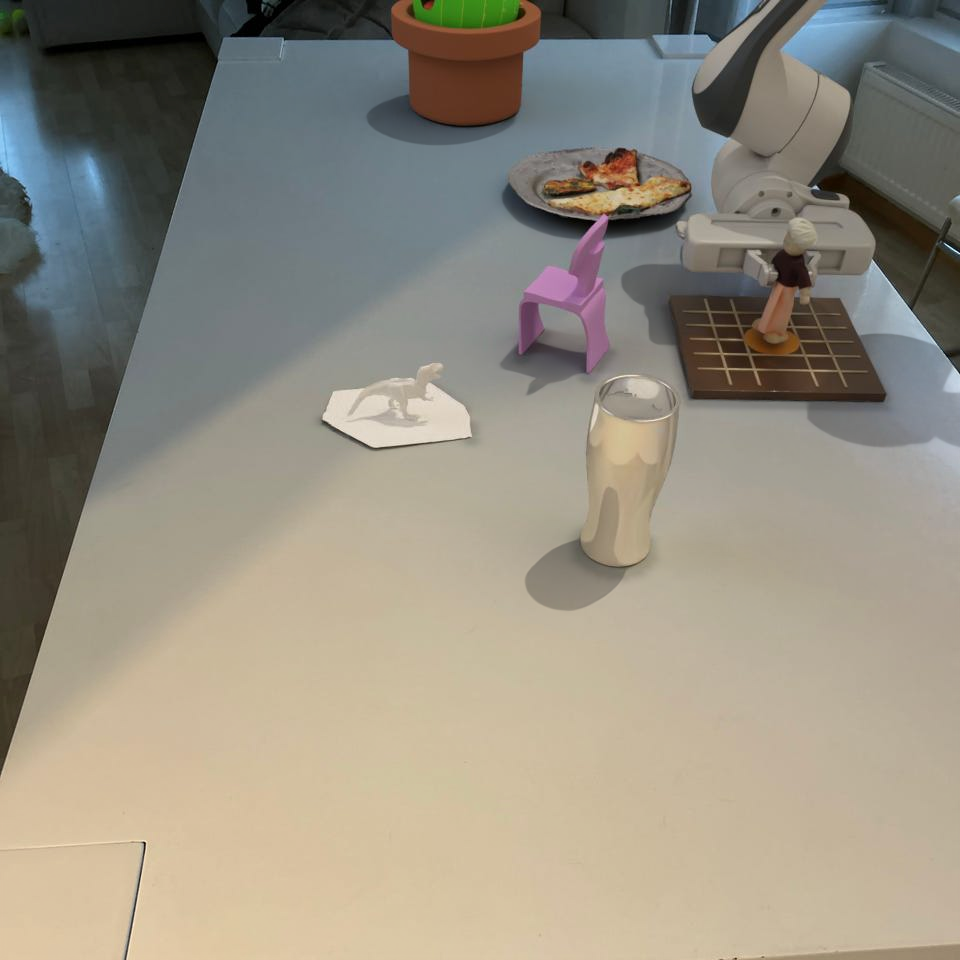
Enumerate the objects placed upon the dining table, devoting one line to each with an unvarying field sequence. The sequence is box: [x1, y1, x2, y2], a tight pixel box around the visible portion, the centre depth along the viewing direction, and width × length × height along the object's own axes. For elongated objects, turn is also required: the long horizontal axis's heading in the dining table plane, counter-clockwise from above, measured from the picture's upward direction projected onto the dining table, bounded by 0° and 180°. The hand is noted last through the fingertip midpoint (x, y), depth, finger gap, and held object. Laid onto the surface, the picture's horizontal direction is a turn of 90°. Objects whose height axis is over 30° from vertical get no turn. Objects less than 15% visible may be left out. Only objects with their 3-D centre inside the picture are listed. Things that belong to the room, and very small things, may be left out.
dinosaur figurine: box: [322, 362, 473, 449], centre depth 97 cm, size 15×12×6 cm
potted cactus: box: [390, 0, 542, 127], centre depth 148 cm, size 22×22×25 cm
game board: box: [668, 294, 888, 403], centre depth 108 cm, size 20×20×1 cm
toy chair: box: [518, 214, 611, 374], centre depth 102 cm, size 8×9×15 cm
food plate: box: [507, 146, 693, 222], centre depth 134 cm, size 25×23×4 cm
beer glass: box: [579, 373, 681, 568], centre depth 80 cm, size 7×7×15 cm
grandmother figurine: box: [752, 217, 818, 344], centre depth 102 cm, size 8×4×13 cm, turn 29°
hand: (789, 280), depth 102 cm, fingers closed on grandmother figurine, 3 cm apart
